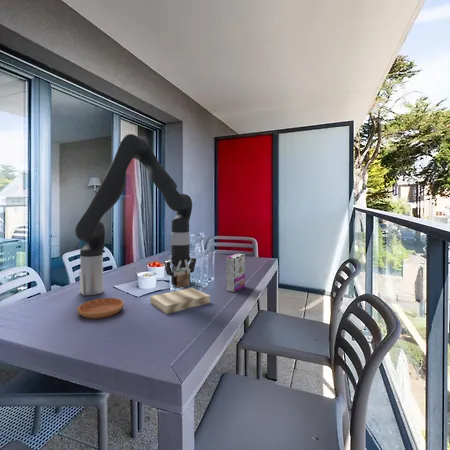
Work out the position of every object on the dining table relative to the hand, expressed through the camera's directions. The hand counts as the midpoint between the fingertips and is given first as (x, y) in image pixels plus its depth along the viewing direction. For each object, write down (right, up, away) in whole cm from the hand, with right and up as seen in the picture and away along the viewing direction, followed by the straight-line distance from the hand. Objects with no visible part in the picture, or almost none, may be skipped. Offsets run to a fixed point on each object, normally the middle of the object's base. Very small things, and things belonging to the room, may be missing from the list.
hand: (180, 283), depth 118 cm
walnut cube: (0, -1, 0) cm, 1 cm away
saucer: (-28, -9, -10) cm, 31 cm away
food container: (-2, -6, +30) cm, 30 cm away
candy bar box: (+23, -7, +21) cm, 32 cm away
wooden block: (0, -8, +1) cm, 8 cm away
